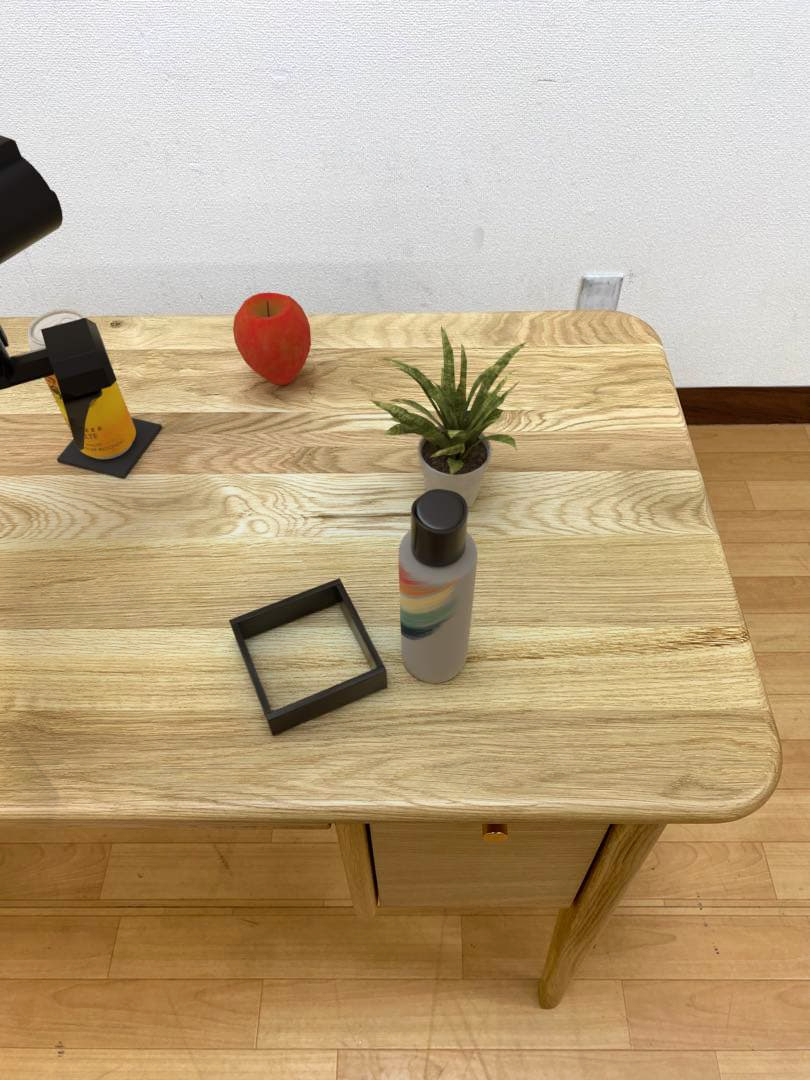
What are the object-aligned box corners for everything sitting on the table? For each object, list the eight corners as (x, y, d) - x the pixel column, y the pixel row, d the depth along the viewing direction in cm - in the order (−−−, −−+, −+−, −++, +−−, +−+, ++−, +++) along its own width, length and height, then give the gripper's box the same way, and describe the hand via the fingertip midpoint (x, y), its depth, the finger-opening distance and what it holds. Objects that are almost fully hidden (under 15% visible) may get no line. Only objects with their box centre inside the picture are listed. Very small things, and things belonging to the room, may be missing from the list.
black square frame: (272, 736, 62) (267, 720, 60) (235, 637, 68) (228, 619, 65) (387, 687, 65) (386, 670, 62) (342, 596, 70) (339, 577, 68)
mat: (124, 479, 80) (123, 475, 79) (58, 462, 81) (56, 459, 81) (162, 427, 84) (161, 424, 84) (98, 412, 86) (97, 409, 85)
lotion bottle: (447, 617, 69) (457, 463, 53) (478, 668, 66) (498, 520, 50) (390, 642, 67) (382, 491, 52) (419, 695, 64) (420, 551, 48)
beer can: (68, 449, 82) (8, 333, 70) (108, 415, 85) (58, 298, 73) (109, 470, 80) (56, 354, 68) (150, 435, 83) (105, 318, 71)
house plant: (455, 416, 85) (462, 287, 72) (553, 481, 79) (580, 353, 66) (359, 484, 79) (348, 356, 66) (458, 560, 73) (467, 436, 60)
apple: (228, 381, 89) (208, 301, 80) (284, 347, 93) (270, 267, 84) (277, 416, 85) (261, 336, 77) (332, 379, 89) (324, 298, 80)
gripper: (53, 210, 58) (117, 373, 70) (-224, 273, 53) (-103, 436, 65) (80, 289, 51) (145, 452, 64) (-230, 368, 47) (-95, 528, 59)
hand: (24, 463), depth 63 cm, fingers open, 9 cm apart
